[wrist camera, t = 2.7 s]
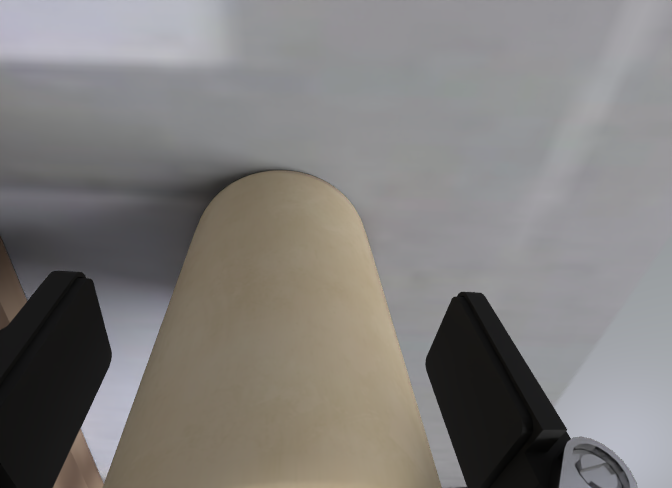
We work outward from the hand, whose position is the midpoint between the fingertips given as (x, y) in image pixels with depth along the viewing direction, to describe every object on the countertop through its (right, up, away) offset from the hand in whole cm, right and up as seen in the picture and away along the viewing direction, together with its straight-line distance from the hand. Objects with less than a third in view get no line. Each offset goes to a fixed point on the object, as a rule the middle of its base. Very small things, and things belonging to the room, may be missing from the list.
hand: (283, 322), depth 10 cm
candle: (0, +2, +3) cm, 4 cm away
